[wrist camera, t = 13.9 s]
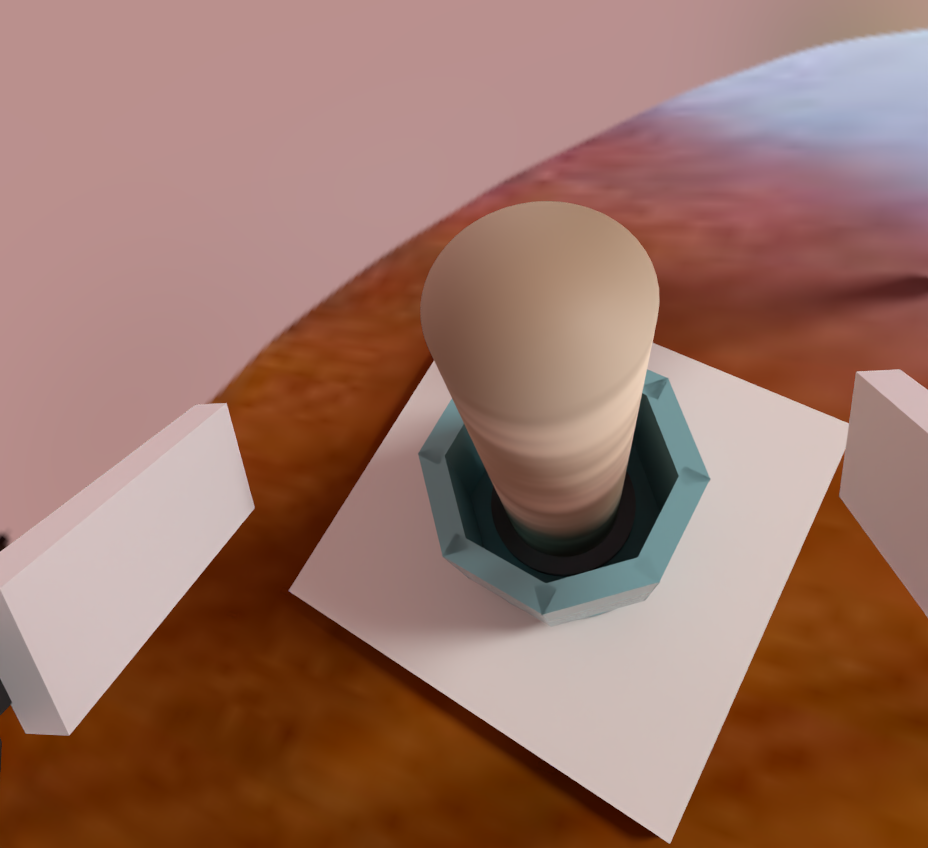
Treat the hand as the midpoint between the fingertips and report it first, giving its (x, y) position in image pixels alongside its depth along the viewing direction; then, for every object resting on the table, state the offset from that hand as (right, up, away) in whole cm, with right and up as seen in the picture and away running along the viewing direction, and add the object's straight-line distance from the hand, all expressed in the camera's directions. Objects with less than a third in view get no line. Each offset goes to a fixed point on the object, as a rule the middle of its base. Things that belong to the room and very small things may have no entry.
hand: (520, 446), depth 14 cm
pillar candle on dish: (+2, -3, +10) cm, 11 cm away
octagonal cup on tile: (+3, -3, +12) cm, 13 cm away
